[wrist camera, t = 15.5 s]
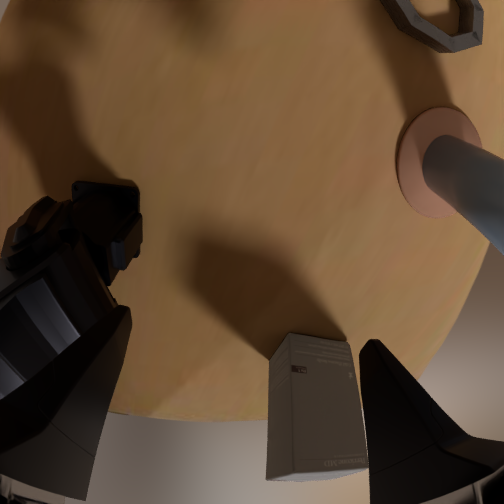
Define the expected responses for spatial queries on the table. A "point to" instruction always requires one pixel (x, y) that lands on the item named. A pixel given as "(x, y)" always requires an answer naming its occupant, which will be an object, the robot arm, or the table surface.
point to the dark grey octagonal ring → (433, 36)
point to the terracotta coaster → (414, 150)
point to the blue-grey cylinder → (468, 183)
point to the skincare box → (314, 412)
